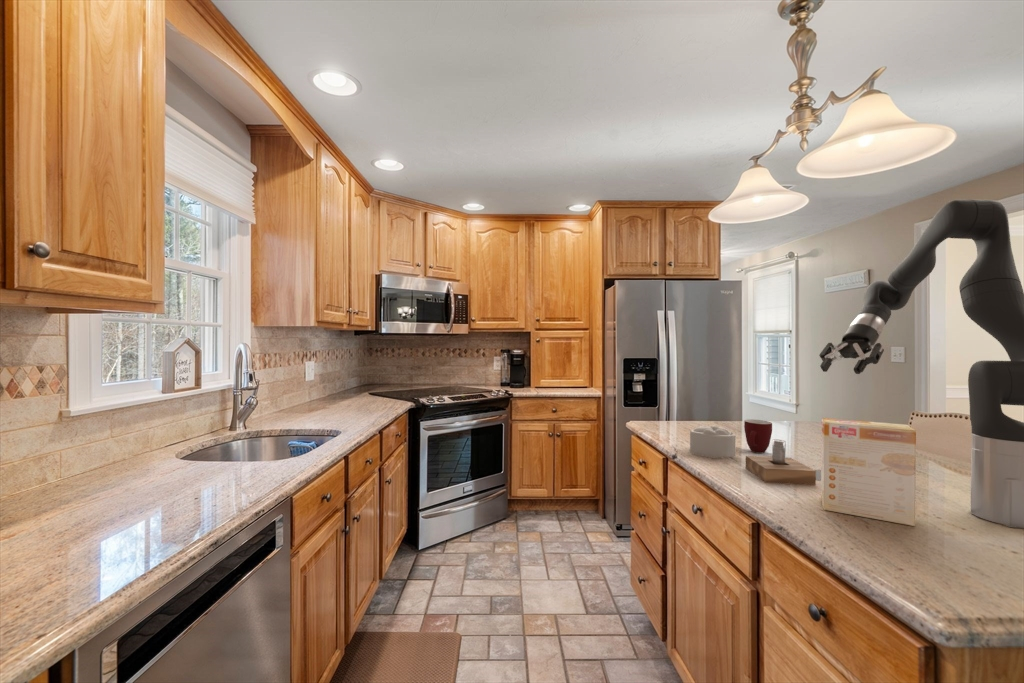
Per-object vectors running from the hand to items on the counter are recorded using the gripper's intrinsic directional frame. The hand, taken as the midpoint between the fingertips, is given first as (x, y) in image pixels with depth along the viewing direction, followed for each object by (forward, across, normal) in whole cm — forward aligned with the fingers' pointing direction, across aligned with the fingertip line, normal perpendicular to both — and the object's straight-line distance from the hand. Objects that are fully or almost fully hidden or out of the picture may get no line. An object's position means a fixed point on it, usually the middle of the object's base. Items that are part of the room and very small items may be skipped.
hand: (839, 370), depth 120 cm
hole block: (+37, -2, +4) cm, 37 cm away
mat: (+29, +1, +12) cm, 31 cm away
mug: (+24, -22, +17) cm, 37 cm away
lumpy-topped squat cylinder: (+35, -26, +6) cm, 44 cm away
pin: (+37, -2, +4) cm, 37 cm away
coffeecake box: (+40, +21, 0) cm, 45 cm away
